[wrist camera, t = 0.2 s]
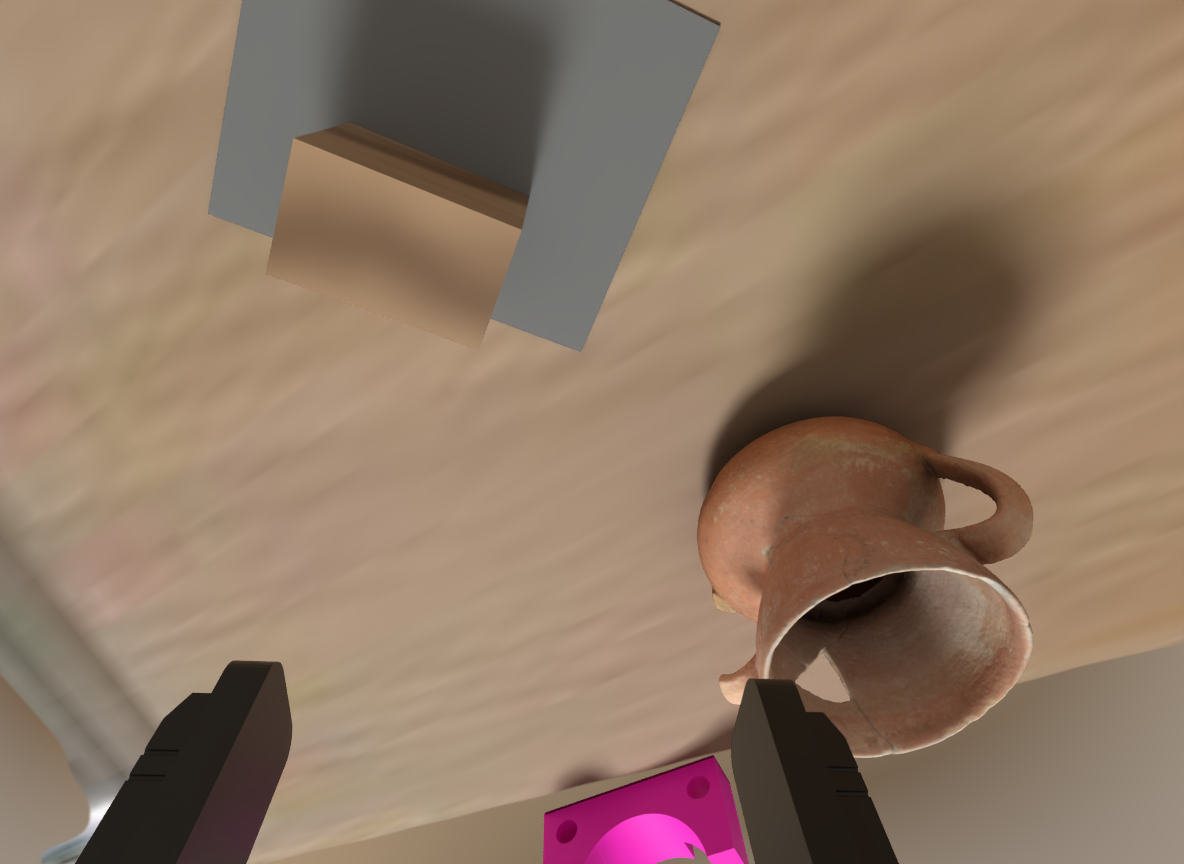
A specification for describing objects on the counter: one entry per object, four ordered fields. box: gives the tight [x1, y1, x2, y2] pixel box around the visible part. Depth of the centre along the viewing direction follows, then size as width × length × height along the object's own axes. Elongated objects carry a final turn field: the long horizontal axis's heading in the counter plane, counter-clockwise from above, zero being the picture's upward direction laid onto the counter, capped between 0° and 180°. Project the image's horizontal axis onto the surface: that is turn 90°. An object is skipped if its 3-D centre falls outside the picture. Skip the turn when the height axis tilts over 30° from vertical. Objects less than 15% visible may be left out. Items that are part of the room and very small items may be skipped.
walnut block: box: [266, 122, 529, 350], centre depth 32 cm, size 6×9×8 cm, turn 68°
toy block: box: [543, 755, 749, 864], centre depth 55 cm, size 15×6×8 cm, turn 115°
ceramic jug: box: [697, 416, 1033, 758], centre depth 38 cm, size 18×14×14 cm
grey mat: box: [208, 0, 720, 352], centre depth 34 cm, size 17×20×1 cm
